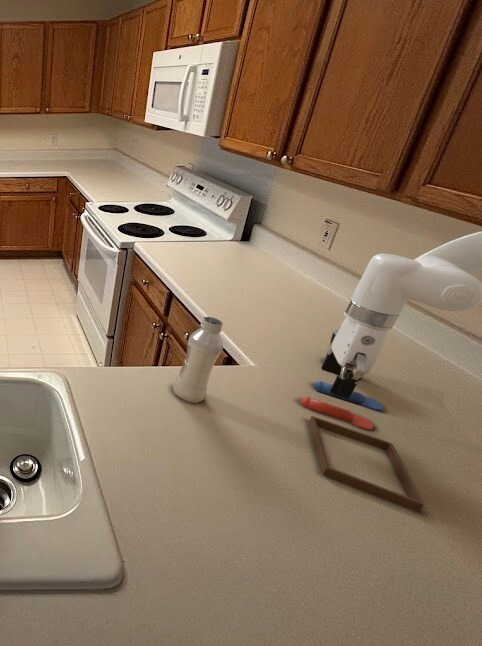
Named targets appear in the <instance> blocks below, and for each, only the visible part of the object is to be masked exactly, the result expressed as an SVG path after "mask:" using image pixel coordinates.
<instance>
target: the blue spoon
mask: <svg viewBox="0 0 482 646" xmlns="http://www.w3.org/2000/svg"><path fill="white" fill-rule="evenodd" d="M332 385H333V383H329V382H325V381H321V380H318V381H316V382H315V383H314V384H313V387H314V390H315V391H317V392H319V393H321V394H325V395H328V396H331V397H333V398H337V399H340V400H344V401H347V402H350V403H354V404H356V405H357V406H360V407H363V408H366V409H369V410H373V411H376V412H379V413H382V412H383V411H384V405H382V404H381V403H380V402H379V401H377V400H375V399H373V398H370V397H367V396H364V395H363V393H361V392H358V391H355V390H354V391H353V392H352V394H351V396H350V398H344V397H341V396H338V395H335V394H332V393H331V392H330V389H331V387H332Z"/></svg>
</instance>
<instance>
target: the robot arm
mask: <svg viewBox="0 0 482 646" xmlns="http://www.w3.org/2000/svg"><path fill="white" fill-rule="evenodd" d="M480 271H482V231H478V232H474V233H471V234H467V235H464V236H461V237H458V238H455V239H453V240H450V241H448V242H446V243H444V244H441V245H440V246H437V247H435V248H434V249H431V250H429V251H427V252H425V253H423V254H421V255H419V256H418V257H416V258H414V259H413V258H408V257H406V256H402V255H398V254H392V253H378V254H375V255H374V256H372V257H371V259H370V260H369V262H368V264H367V266H366V268H365V270H364V272H363V274H362V276H361V277H360V280H359V282H358V283H357V285H356V288H355V290H354V292H353V294H352V296H351V298H350V300H349V301H348V303H347V305H346V308H345V310H344V312H343V315H344V317H345V318H344V320H343V321H342V323H341V325H340V326H339V328H338V329H339V330H338V332H337V334H336V336H335V338H334V340H333V343H332V348H331V349H330V351H329V354H331V355H329V354H328V355H327V354H326V355H327V357H326V356H325V358H326V359H325V358H324V360H323V363H322V365H321V366H320V369H321V370H322V371H324V372H327V373H330V374H333V375H337V376H336V378H335V380H334V381H333V383H332V387H331V389H330V392H331V393H332V394H335V395H338V396H341V397H344V398H350V396H351V394H352V392H353V391H355V389H356V387H357V385H358V384H359V383H360V381H361V380H362V379H363V377H364V376H365V375H368V374H369V373H371V371H372V370H373V367H374V365H375V363H376V361H377V359H378V358H379V355H380V353H381V351H382V348H383V346H384V343H385V340H386V338H387V334H388V331H391V330H392V329H393V328H394V325H395V324H396V321H397V320H398V318H399V317H400V315H401V313H402V311H403V310H404V308H405V306H406V304H407V303H408V301H409V300H411V301H414V302H416V303H420V304H423V305H426V306H428V307H431V308H435V309H438V310H442V311H447V312H464V311H468V310H471V309H474V308H476V307H478V306H480V305H481V303H482V282H481V281H480V280H479V279H478V278H477V277H475V275H472V274H476V273H477V272H480ZM347 363H349V364H352V365H355V367H354V366H350V365H347ZM347 369H349V370H352V371H353V372H349V373H347V374H346V372H347ZM340 371H341V373H340ZM339 373H340V375H338V374H339Z"/></svg>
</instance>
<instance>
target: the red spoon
mask: <svg viewBox="0 0 482 646" xmlns="http://www.w3.org/2000/svg"><path fill="white" fill-rule="evenodd" d="M299 403H300V405H302V406H303V407H305V408H307V409H310V410H313V411H317V412H319V413H322V414H325V415H328V416H331V417H333V418H337V419H340V420H343V421H345V422H350V423H351V424H352V425H353V426H355V427H358V428H360V429H363V430H367V431H372V430H374V428H375V426H374V424H373V423H372V422H371V421H370V420H369V419H367V418H365V417H363V416H361V415H358V414H354V412H352V411H351V410H348V409H345V408H342V407H339V406H336V405H333V404H330V403H327V402H324V401H322V400H321V401H320V400H318V399H315V398H311V397H308V396H305V397H302V398H301V399H300V401H299Z"/></svg>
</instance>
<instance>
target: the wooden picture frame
mask: <svg viewBox="0 0 482 646" xmlns="http://www.w3.org/2000/svg"><path fill="white" fill-rule="evenodd" d="M308 425H309V430H310V433H311V436H312V440H313V444H314V447H315V451H316V455H317V459H318V462H319V466H320V470H321V474H322V475H323V476H325V477H327V478H331V479H334V480H335V481H339V482H340V483H343V484H346V485H349V486H351V487H354V488H357V489H359V490H362V491H364V492H367V493H369V494H372V495H374V496H377V497H380V498H383V499H385V500H387V501H390V502H392V503H395V504H398V505H400V506H402V507H405V508H408V509H411V510H413V511H416V512H420V511H421V510H422V508H424V506H425V505H424V503H423V500H422V499H421V496H420V494H419V492H418V491H417V488H416V486H415V485H414V482H413V481H412V479H411V477H410V475H409V473H408V471H407V469H406V467H405V465H404V463H403V461H402V460H401V458H400V455H399V454H398V452H397V450H396V448H395V445H394V444H393V442H390V441H387V440H383V439H381V438H378V437H376V436H373V435H370V434H366V433H363V432H360V431H357V430H354V429H352V428H349V427H346V426H343V425H340V424H337V423H334V422H331V421H328V420H326V419H322V418H319V417H317V416H313V415H311V416H310V418H309V419H308ZM319 428H321V429H324V430H326V431H330V432H333V433H335V434H339V435H341V436H344V437H347V438H350V439H353V440H356V441H358V442H361V443H365V444H367V445H371V446H373V447H376V448H379V449H382V450H384V451H385V452H386V454H387V456H388V458H389V460H390V461H391V464H392V466H393V469H394V470H395V473H396V475H397V477H398V479H399V481H400V483H401V485H402V487H403V489H404V491H405V493H406V495H407V496H406V495H404V494H401V493H399V492H396V491H393V490H391V489H389V488H386V487H384V486H380V485H378V484H375V483H372V482H370V481H368V480H364V479H362V478H360V477H356V476H354V475H351V474H349V473H346V472H344V471H341V470H338V469H335V468H333V467H330V464H329V460H328V457H327V454H326V450H325V447H324V443H323V440H322V437H321V433H320V430H319Z"/></svg>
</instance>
